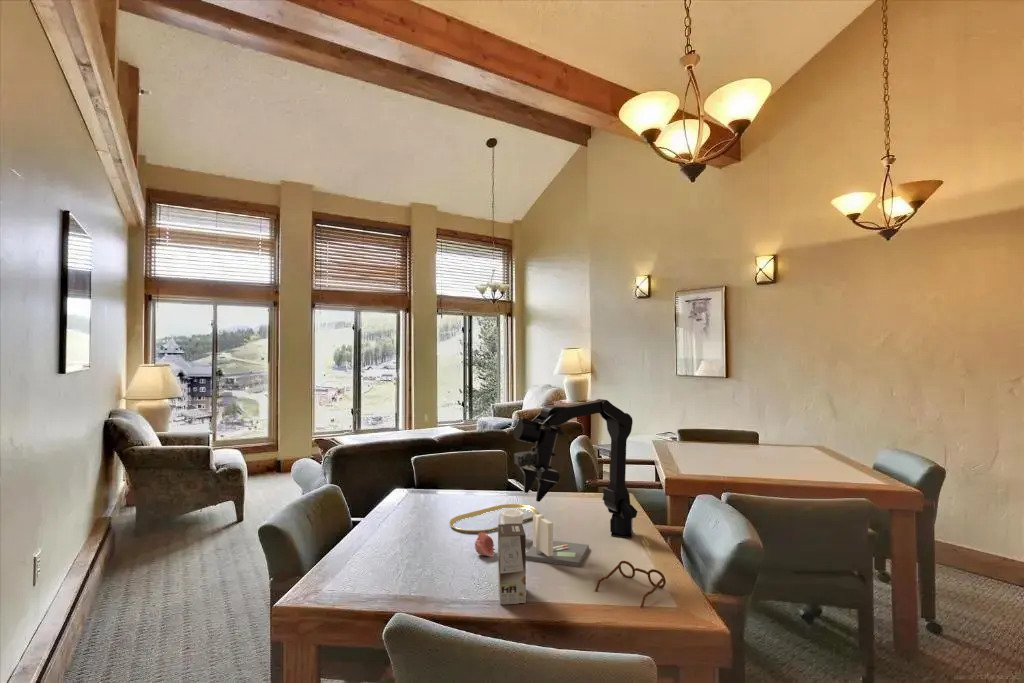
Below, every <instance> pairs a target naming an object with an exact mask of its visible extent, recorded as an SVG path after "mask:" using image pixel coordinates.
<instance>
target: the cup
mask: <svg viewBox="0 0 1024 683" xmlns="http://www.w3.org/2000/svg"><path fill="white" fill-rule="evenodd" d="M524 515H525V513H524V512H523V511H522V510H520V509H506V510H504V511H503V512H501V513H500V514H499V516H498V525H499V524H502V522H503V524H520V523H522V524H523V519H524Z"/></svg>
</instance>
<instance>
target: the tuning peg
mask: <svg viewBox="0 0 1024 683" xmlns="http://www.w3.org/2000/svg"><path fill="white" fill-rule="evenodd" d="M532 516H533V518H532V545H533V546H534V547H536V553H538V554H543V553H544V554H546V555H547V556H553V549H558V548H564V547H568V545H567V544H566V545H562V546H557V547H553V541H554V530H553V529H554V523H553V522H552V521H550V520H549V519H547V518H545V515H544V514H541V513H540V514H538V513H537V514H535V515H533V514H532Z"/></svg>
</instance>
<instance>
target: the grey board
mask: <svg viewBox="0 0 1024 683" xmlns="http://www.w3.org/2000/svg"><path fill="white" fill-rule="evenodd" d="M566 544H567V545H568V547H564V548H558V549H553V556H547V555H546V554H544V553H543V554H538V553H536V547H534V546H533V544H532V545H531V546H530V547H529V549H528V550H527V551H526V561H533V562H538V563H539V562H540V563H547V564H555V565H561V566H562V565H564V566H571V567H579V568H580V566H581V564H582V562H583V560H584V559H585V556H586V555H587V553H588V551H589V550H590V548H589V546H590V544H585V543H578V542H567V541H559V540H553V547H557V546H562V545H566Z"/></svg>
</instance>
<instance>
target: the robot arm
mask: <svg viewBox="0 0 1024 683" xmlns="http://www.w3.org/2000/svg"><path fill="white" fill-rule="evenodd" d="M595 414H599V415H600V417H601V418H602V419H603V420H604V421H606V428H607V432H608V435H609V437H610V467H609V468H610V469H609V473H610V474H609V484H608V485H607V487H603V489H602V494H603V495H602V498H601V500H602V501H603V504H604V506H605V507H606V508H607V511H608V512H609V513H610V514H611V517H610V519H609V521H610V522H609V523H610V524H609V525H610V526H609V528H610V533H611V534H610V536H612V537H617V536H620V538H626V537H630V538H629V539H632V538H631V537H633V534H634V532H633V531H634V529H633V527H634V526H633V519H635V518H637V514H638V509H636V508H635V507H634V506H633V505H632V504H631V496H630V493H629V490H628V488H627V485H626V471H627V470H626V469H627V468H626V465H627V440H628V438H629V436H630V434H631V432H632V429H633V428H632V427H633V424H634V423H633V417H632V416H631V415H630V414H629V413H627V412H624V411H623V410H622V409H620V408H619V407H616V406H615V405H613V403H611V402H610V401H609V400H608V399H601V398H597V399H595V400H589V401H585V402H580V403H574V404H570V405H556V404H553V405H552V404H551V405H550V404H549V405H544V406H543V407H542V409H541V410H540V412H539V413H538V414H537V415H536V416H535V417H534V418H533V419H532V420H530V419H528V418H526V417H520V418H519V421H518V422H516V425H515V426H514V428H513V438H514V439H515V440H516V441H520V442H525V443H529V444H535V446H534V445H532V447H531V448H530V450H529V451H528V450H527V451H520V452H515V453H513V456H514V459H513V460H514V465H516V466H517V467H519V469H520V470H521V472H522V473H523V492H524V493H525V494H528V493H529V492H530V490H531V488H532V487H533V484H534V483H535V481H537V483H538V485H537V491H536V496H535V497H536V500H535V501H536V502H538V503H539V502H541V501H542V500H543V498H545V496H546V494H547V493H549V491H550V490H551V489H552V488H553V487H554V486H555V485H557V484H558V483H560V482H561V478H562V476H561V473H560V472H559V471H557V470H555V469H552V465H551V463H552V458H553V457H555V456H556V452H554V449H555V445H556V442H557V439H558V435H560V436H565V432H564V430H562V427H561V425H563V424H565V423H568V422H569V421H570V420H572V419H575V418H580V417H584V416H585V417H586V416H590V415H595ZM543 427H544V428H543Z"/></svg>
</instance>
